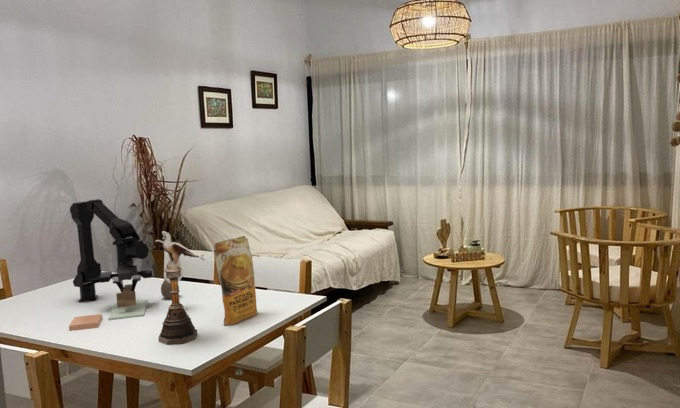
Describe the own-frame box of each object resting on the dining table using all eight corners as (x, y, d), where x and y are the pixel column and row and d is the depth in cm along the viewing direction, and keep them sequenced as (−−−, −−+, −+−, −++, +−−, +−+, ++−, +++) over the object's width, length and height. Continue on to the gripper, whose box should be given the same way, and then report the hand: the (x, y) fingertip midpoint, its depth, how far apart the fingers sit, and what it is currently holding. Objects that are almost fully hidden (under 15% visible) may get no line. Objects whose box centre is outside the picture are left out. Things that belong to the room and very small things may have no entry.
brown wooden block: (120, 298, 214) (119, 285, 214) (138, 296, 216) (137, 283, 215) (117, 307, 202) (116, 294, 201) (136, 305, 203) (134, 292, 203)
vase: (161, 301, 218) (159, 279, 217) (161, 296, 225) (160, 275, 224) (179, 299, 220) (177, 277, 219) (179, 294, 227) (178, 273, 226)
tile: (74, 317, 196) (68, 325, 187) (102, 313, 199) (97, 322, 189) (75, 323, 197) (69, 332, 187) (102, 319, 199) (98, 328, 189)
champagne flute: (180, 312, 202) (175, 247, 199) (163, 312, 203) (158, 247, 201) (188, 307, 209) (184, 244, 206) (172, 306, 210) (167, 244, 207)
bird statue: (191, 324, 189) (183, 222, 185) (216, 331, 181) (209, 224, 177) (148, 339, 176) (139, 230, 172) (173, 347, 168) (164, 233, 164)
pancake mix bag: (211, 325, 187) (206, 243, 184) (250, 309, 203) (246, 234, 199) (226, 328, 183) (220, 244, 180) (264, 312, 199) (260, 235, 196)
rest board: (114, 304, 216) (114, 303, 216) (146, 301, 219) (146, 299, 219) (108, 320, 197) (108, 318, 197) (144, 315, 200) (144, 314, 200)
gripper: (95, 263, 199) (99, 305, 201) (150, 258, 205) (153, 299, 206) (99, 257, 210) (103, 297, 212) (151, 253, 215) (154, 292, 217)
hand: (128, 297), depth 211 cm, fingers closed on brown wooden block, 3 cm apart
